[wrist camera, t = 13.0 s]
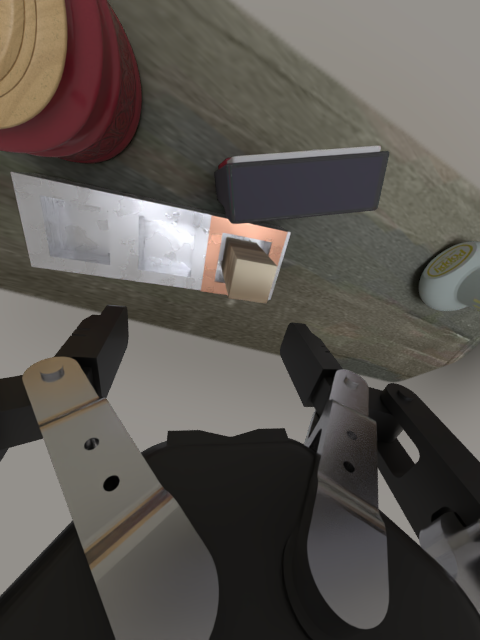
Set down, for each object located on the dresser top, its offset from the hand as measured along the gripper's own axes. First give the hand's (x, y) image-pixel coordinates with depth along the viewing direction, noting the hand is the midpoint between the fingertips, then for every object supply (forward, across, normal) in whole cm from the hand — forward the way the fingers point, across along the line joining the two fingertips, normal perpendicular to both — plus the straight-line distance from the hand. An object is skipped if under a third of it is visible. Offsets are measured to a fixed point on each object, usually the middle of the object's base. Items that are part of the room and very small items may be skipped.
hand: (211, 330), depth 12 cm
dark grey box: (+22, -6, -7) cm, 24 cm away
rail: (+22, +4, +1) cm, 23 cm away
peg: (+21, -5, +2) cm, 22 cm away
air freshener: (+22, -39, -1) cm, 45 cm away
